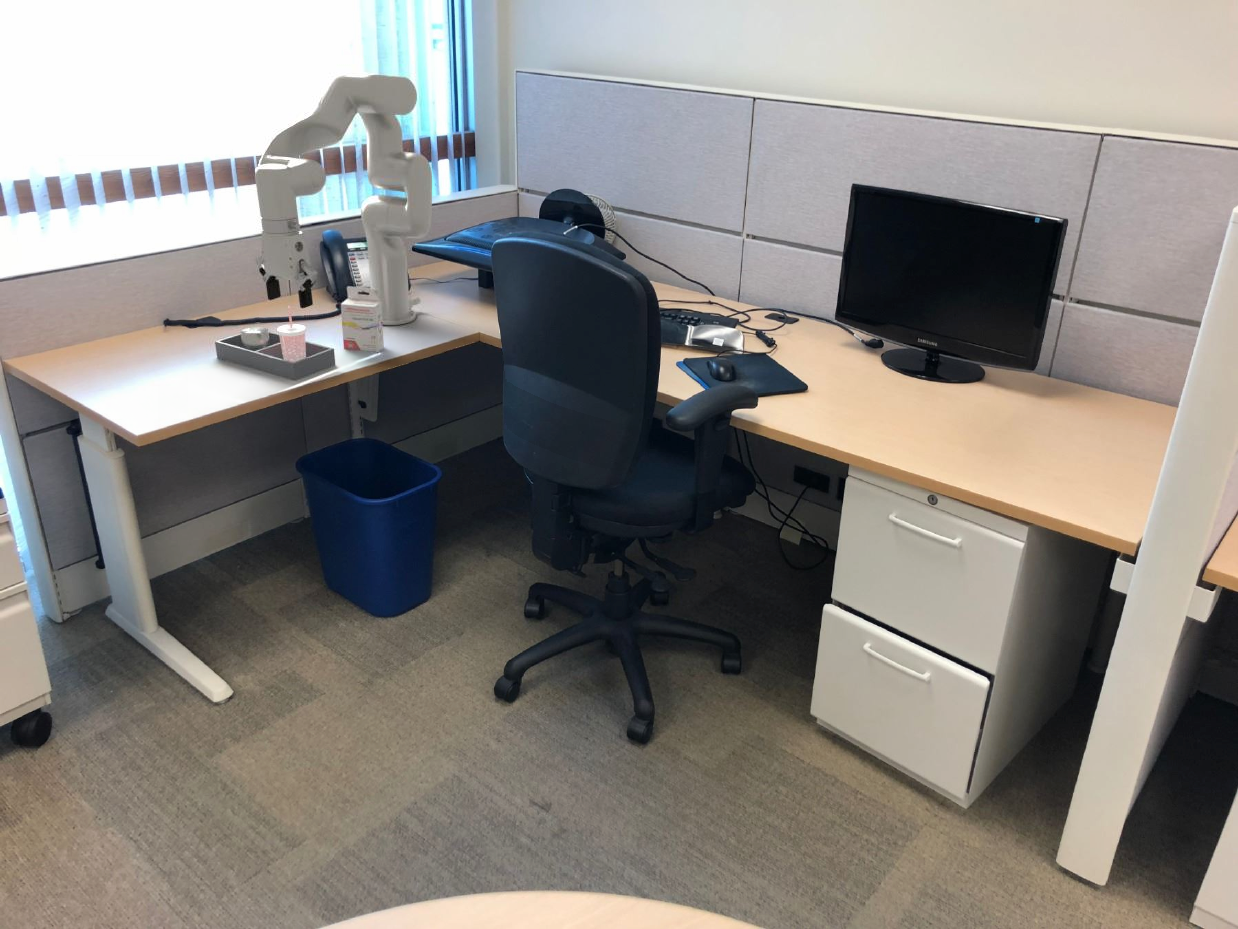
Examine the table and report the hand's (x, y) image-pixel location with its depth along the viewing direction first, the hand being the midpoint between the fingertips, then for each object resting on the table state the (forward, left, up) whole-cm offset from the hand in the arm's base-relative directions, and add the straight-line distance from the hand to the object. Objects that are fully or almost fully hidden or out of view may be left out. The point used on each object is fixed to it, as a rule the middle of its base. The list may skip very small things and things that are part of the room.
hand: (290, 302), depth 219 cm
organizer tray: (+1, -6, -15) cm, 16 cm away
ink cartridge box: (-18, +3, -16) cm, 24 cm away
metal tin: (+1, -12, -15) cm, 19 cm away
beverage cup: (+1, 0, -15) cm, 15 cm away
